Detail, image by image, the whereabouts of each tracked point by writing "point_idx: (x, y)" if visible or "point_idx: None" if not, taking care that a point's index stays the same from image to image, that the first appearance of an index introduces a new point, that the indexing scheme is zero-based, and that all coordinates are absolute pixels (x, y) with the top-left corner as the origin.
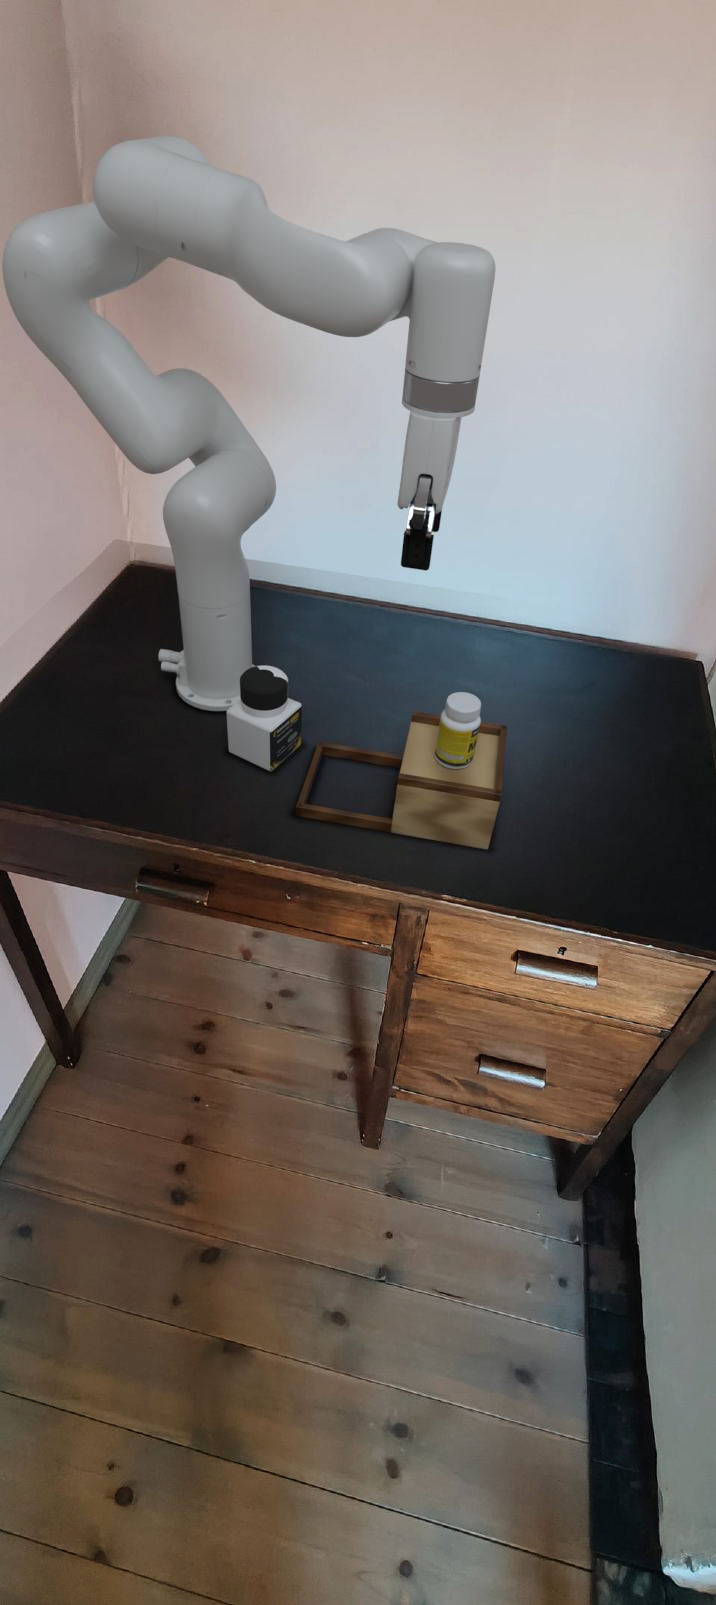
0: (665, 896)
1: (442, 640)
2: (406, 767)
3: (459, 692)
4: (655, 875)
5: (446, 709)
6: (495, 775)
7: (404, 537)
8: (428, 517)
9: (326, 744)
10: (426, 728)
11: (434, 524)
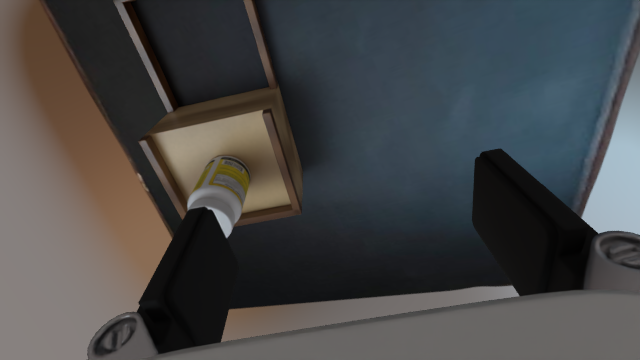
0: (245, 291)
1: (566, 34)
2: (177, 135)
3: (223, 215)
4: (261, 285)
5: (192, 204)
6: None
7: (147, 288)
8: (496, 226)
9: None
10: (261, 131)
11: (483, 230)
